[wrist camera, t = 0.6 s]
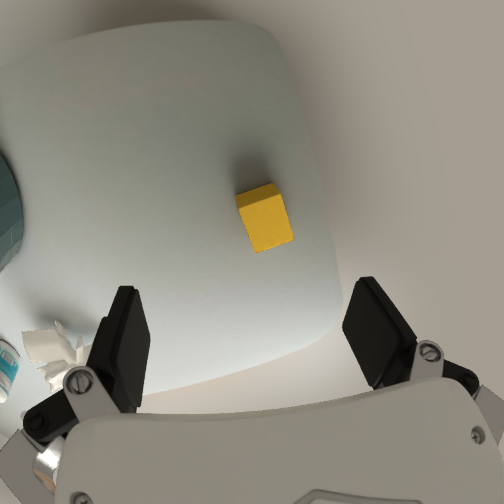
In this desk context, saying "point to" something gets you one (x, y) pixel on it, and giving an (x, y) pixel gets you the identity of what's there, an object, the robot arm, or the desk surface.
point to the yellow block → (264, 217)
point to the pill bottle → (7, 369)
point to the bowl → (9, 217)
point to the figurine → (54, 353)
